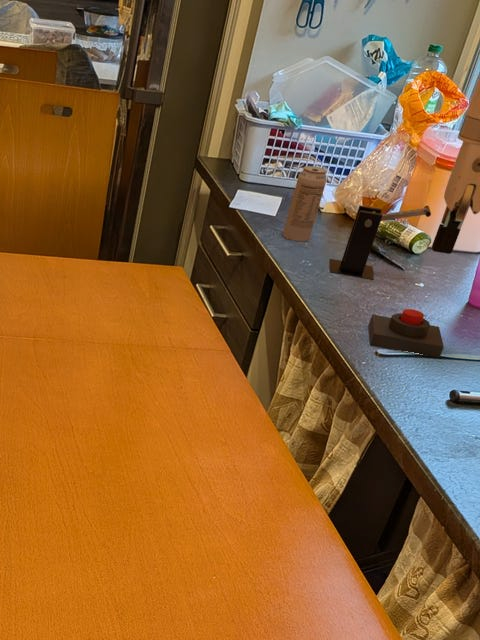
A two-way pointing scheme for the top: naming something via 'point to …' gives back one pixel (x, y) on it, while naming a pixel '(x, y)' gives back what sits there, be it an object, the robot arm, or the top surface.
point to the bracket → (359, 245)
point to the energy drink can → (305, 203)
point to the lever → (406, 214)
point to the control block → (405, 335)
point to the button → (412, 317)
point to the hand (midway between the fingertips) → (441, 250)
